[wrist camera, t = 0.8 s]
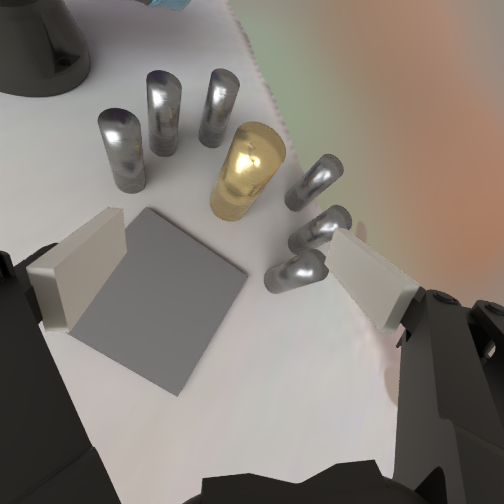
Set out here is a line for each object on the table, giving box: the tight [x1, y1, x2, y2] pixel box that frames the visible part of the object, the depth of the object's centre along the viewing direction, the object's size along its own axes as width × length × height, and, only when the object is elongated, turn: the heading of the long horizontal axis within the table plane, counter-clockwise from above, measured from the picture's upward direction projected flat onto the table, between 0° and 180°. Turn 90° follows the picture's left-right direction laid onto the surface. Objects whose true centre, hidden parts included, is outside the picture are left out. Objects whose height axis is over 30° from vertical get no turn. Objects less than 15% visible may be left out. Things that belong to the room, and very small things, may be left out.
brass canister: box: [210, 122, 286, 221], centre depth 30 cm, size 6×6×13 cm
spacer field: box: [98, 69, 352, 294], centre depth 32 cm, size 29×18×10 cm, turn 60°
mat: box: [67, 207, 248, 397], centre depth 29 cm, size 16×16×1 cm
